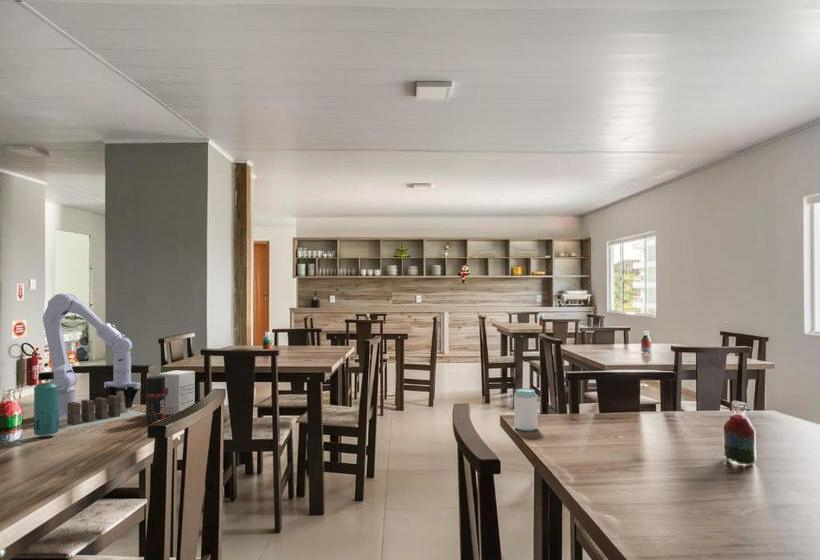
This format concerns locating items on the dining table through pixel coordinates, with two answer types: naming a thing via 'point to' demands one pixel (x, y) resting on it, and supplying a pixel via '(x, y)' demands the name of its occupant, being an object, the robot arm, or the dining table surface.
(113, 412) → the tile
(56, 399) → the beverage bottle
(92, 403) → the tile
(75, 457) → the dining table surface
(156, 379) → the deodorant
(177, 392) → the supplement box
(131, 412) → the mat
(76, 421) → the tile
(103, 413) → the tile
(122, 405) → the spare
